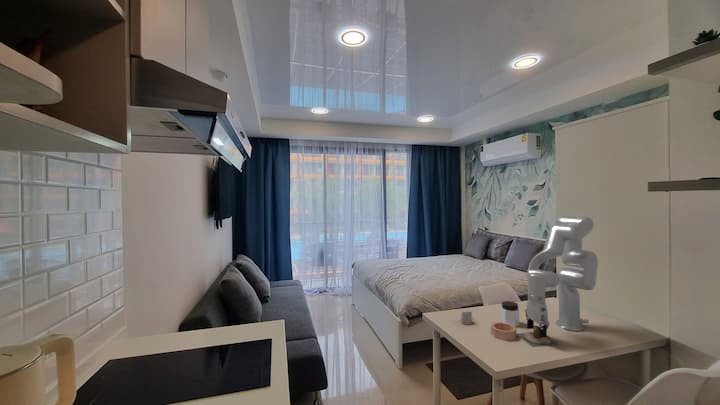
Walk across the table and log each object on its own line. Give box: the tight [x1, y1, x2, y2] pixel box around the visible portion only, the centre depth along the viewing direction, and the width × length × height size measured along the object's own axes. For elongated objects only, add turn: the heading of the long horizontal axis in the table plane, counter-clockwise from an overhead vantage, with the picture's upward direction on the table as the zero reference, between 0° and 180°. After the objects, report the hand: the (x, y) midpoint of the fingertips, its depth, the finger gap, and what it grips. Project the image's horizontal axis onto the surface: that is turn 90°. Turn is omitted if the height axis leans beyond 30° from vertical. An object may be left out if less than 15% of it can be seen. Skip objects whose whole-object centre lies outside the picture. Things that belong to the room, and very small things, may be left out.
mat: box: [516, 332, 561, 348], centre depth 153 cm, size 14×14×1 cm
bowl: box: [490, 321, 517, 342], centre depth 158 cm, size 11×11×5 cm
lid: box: [524, 325, 553, 345], centre depth 153 cm, size 12×12×6 cm
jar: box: [500, 300, 520, 328], centre depth 171 cm, size 9×8×12 cm
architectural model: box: [459, 310, 474, 325], centre depth 176 cm, size 3×7×7 cm, turn 95°
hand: (536, 332), depth 152 cm, fingers open, 9 cm apart
